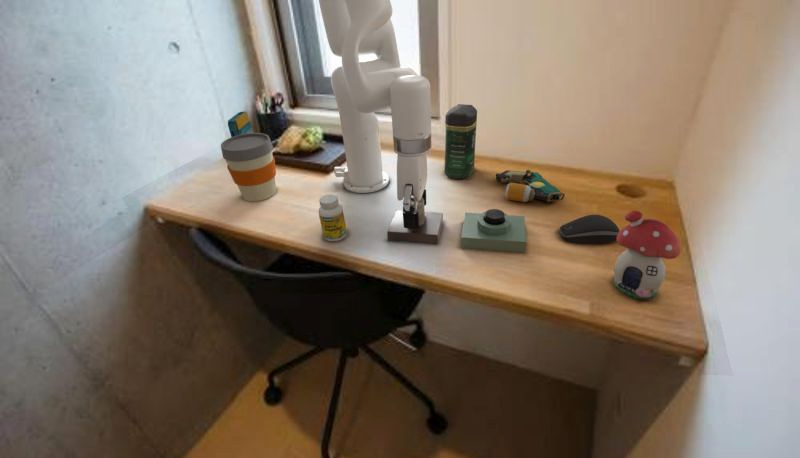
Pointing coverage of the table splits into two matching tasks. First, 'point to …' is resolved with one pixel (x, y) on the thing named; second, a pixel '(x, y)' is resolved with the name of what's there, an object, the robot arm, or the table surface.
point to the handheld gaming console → (240, 124)
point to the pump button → (494, 217)
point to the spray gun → (528, 186)
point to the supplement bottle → (332, 218)
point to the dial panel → (421, 235)
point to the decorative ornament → (643, 256)
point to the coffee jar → (460, 141)
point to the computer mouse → (590, 230)
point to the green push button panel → (494, 233)
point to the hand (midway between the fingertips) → (415, 215)
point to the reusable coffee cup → (251, 165)
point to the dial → (420, 210)
